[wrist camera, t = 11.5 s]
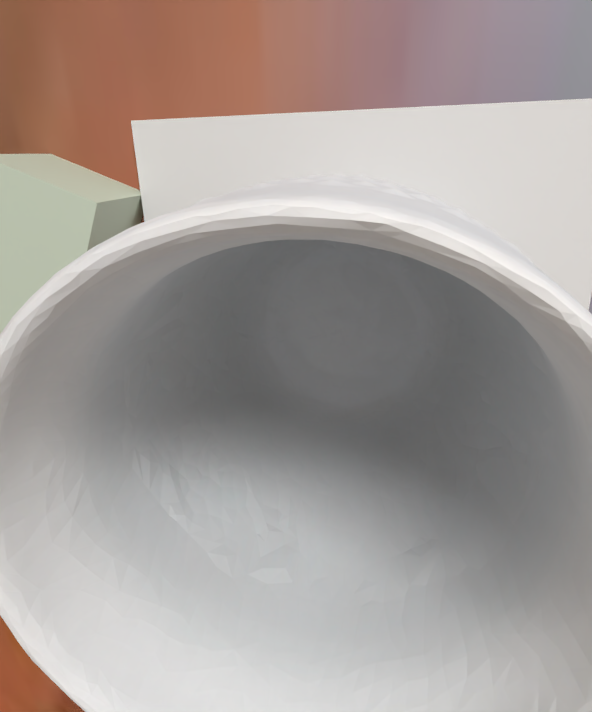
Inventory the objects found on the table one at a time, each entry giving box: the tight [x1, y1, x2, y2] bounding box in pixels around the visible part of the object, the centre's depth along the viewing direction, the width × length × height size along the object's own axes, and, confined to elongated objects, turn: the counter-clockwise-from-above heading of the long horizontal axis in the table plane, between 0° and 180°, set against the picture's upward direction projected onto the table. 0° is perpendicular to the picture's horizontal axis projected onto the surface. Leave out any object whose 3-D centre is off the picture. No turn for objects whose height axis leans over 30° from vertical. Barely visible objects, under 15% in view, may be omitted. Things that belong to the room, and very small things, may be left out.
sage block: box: [0, 154, 143, 334], centre depth 19 cm, size 4×6×4 cm, turn 159°
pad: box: [131, 99, 592, 310], centre depth 20 cm, size 16×16×1 cm
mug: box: [0, 174, 592, 712], centre depth 14 cm, size 15×11×13 cm
